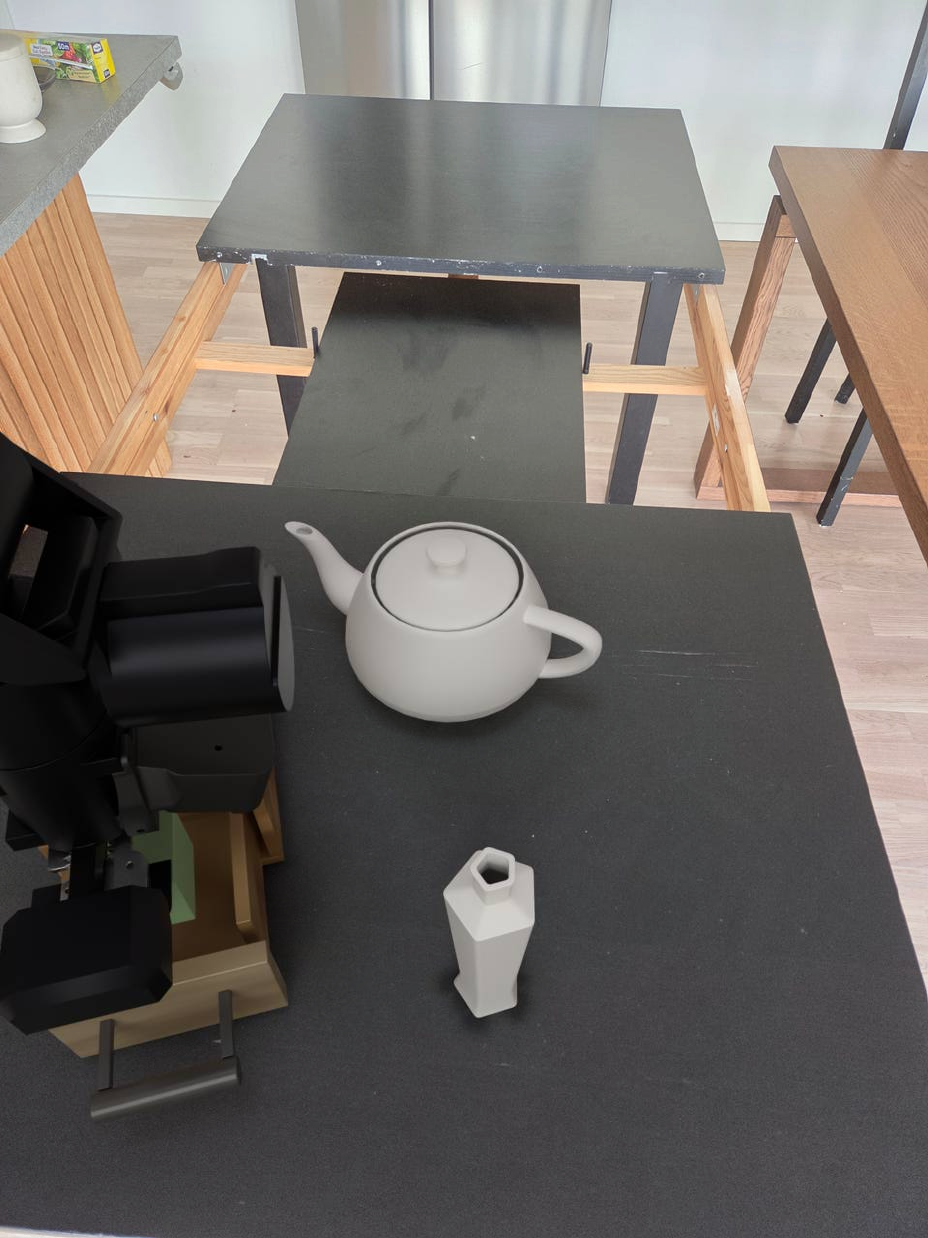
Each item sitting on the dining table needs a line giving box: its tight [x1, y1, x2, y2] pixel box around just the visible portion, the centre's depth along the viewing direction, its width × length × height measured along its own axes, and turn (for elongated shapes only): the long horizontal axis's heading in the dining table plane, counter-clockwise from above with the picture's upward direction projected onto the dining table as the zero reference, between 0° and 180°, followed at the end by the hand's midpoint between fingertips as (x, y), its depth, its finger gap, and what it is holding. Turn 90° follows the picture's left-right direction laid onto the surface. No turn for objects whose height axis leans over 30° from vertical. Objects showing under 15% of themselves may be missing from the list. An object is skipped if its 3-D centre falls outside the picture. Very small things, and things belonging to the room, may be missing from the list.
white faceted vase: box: [442, 846, 536, 1019], centre depth 44 cm, size 5×4×15 cm
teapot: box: [284, 521, 603, 723], centre depth 62 cm, size 25×16×12 cm, turn 66°
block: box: [107, 810, 196, 924], centre depth 44 cm, size 4×4×4 cm
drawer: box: [47, 811, 289, 1126], centre depth 48 cm, size 18×11×7 cm, turn 14°
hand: (146, 882), depth 45 cm, fingers closed on block, 4 cm apart
